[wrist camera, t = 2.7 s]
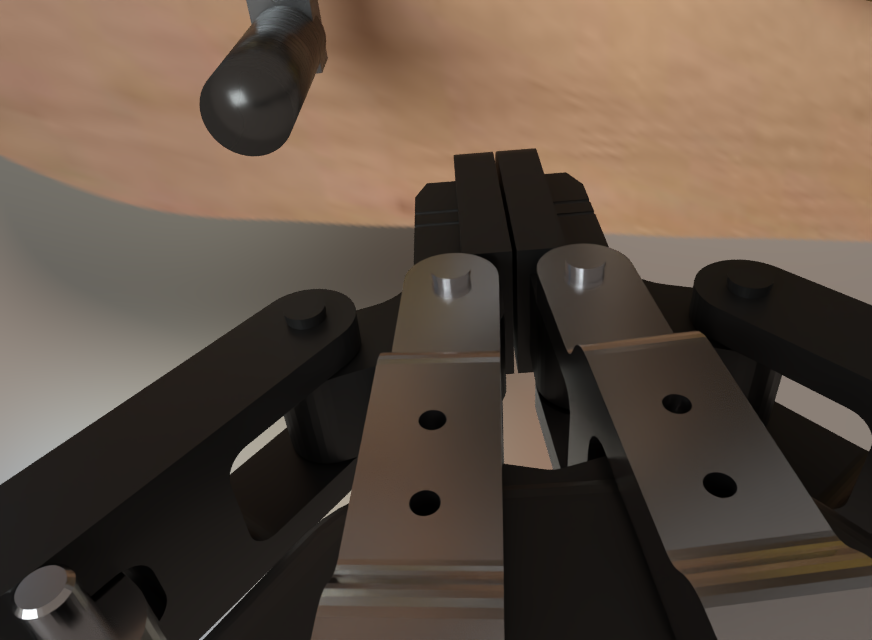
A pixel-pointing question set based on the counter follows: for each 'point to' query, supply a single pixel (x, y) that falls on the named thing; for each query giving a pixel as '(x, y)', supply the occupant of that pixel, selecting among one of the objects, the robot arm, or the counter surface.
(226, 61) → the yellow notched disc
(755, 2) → the counter surface
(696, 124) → the counter surface
